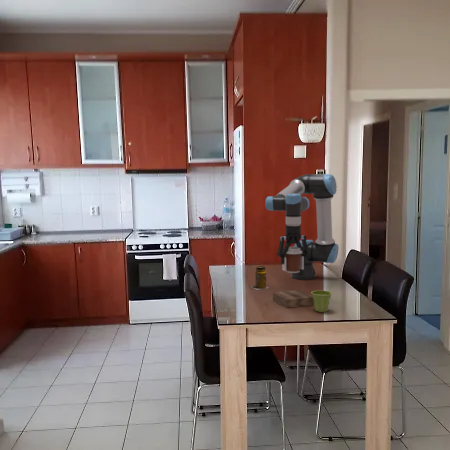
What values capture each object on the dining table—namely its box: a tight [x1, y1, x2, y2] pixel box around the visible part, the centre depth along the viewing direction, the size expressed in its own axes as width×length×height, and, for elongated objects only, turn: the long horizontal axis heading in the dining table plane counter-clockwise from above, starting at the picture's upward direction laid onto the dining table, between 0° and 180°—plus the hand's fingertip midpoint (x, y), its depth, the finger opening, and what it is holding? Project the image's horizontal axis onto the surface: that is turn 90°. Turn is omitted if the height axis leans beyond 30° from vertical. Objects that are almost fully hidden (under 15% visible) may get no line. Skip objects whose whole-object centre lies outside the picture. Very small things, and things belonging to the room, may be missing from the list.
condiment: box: [250, 265, 270, 291], centre depth 261 cm, size 7×8×12 cm
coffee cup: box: [285, 246, 302, 274], centre depth 228 cm, size 9×9×12 cm
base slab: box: [272, 289, 314, 309], centre depth 230 cm, size 15×15×4 cm
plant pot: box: [310, 289, 332, 313], centre depth 216 cm, size 9×9×9 cm
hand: (292, 269), depth 229 cm, fingers closed on coffee cup, 9 cm apart
